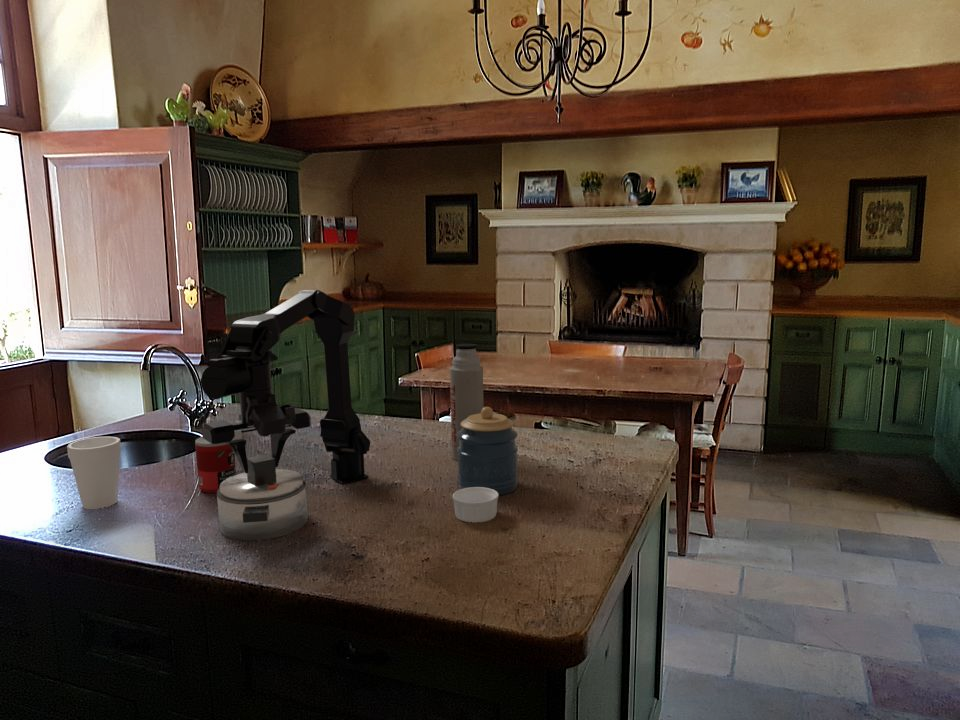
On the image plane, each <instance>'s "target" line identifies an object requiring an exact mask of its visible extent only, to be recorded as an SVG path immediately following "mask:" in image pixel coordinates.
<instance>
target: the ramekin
mask: <svg viewBox="0 0 960 720" xmlns="http://www.w3.org/2000/svg"><path fill="white" fill-rule="evenodd" d="M499 496H500V495H499V494H498V492H497V491H495V490H493V489H490V488H485V487H470V488H464V489H460V488H459V489H458V490H456V491H455V492H454V491H453V494H452V500H453V504H454V505H453V506H454V514H455V517H456V518H457V519H458V520H459V521H462V522H465V523H471V522H472V524H478V522H479V523H485V522H489V521H491V520H493V519H494V518H495V517H496V516H497V513H498V512H497V511H498V509H497V508H498V499H499Z"/></svg>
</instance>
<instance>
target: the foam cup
mask: <svg viewBox="0 0 960 720" xmlns="http://www.w3.org/2000/svg"><path fill="white" fill-rule="evenodd" d="M121 443H122V442H121V439H120V438H119V437H117V436H109V435H108V436H96V437H93V436H92V437H86V438H82V439H78V440H75V441H73V442H70V443H68V445H67V446H66V450H67V457H68V459H69V461H70V465H71V469H72V472H73V476H74V480H75V483H76V486H77V491H78V494H79V498H80V503H81V504H82V505H81V506H82V508H83V509H85V510H90V509H91V510H100V509H99V508H101V509H105V508H104V507H106V508H109V507H111V505H112V506H114V505H116V504H117V502H118V498H119V481H120V480H119V479H120V463H121V462H120V461H121V460H120V459H121V456H120V455H121V452H122V445H121ZM115 503H116V504H115ZM113 504H114V505H113ZM108 506H109V507H108Z"/></svg>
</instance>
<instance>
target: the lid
mask: <svg viewBox="0 0 960 720" xmlns="http://www.w3.org/2000/svg"><path fill="white" fill-rule="evenodd" d="M247 463H248V473H244V472H242V473H236V475H234V476H232V477H230V478H227V479H226V480H224V481H223V482H222V483H221V484H220V494H221V496H222V497H224V498H226V499H228V500H232V501H239V502H257V501H267V500H273V499H277V498H281V497H285V496H288V495H290V494H293V493H295V492H297V491H298V490H300V489H301V488H302V487H303V480H304V477H303V474H301V473H299V472H298V471H295V470H291V469H285V468H282V469H281V468H277V467H275V458H273V457H272V455H269V454H267V453H265V454H260V455H255V456H250V457H247Z"/></svg>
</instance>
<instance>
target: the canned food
mask: <svg viewBox="0 0 960 720" xmlns="http://www.w3.org/2000/svg"><path fill="white" fill-rule="evenodd" d="M194 441H195V443H194V446H195V458H196V468H197V469H196V470H197V479H198V488H199V489H200V491H201V492H203V493H205V492H206V493H207V494H217V491H218V489H219V488H220V484H221V483H222V482H223V481H224V480H226V479H227V478H230V477H232V476H234V475H237V469H236V455H235V453H234V451H233V450H232V448H231V447H230V445H228V444H227V443H225V442H224V443H219V444H211V443H210V442H208V441H207V440H205V439H203V436H200V437H198V438H196V439H195V440H194ZM206 493H205V494H206Z"/></svg>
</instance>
